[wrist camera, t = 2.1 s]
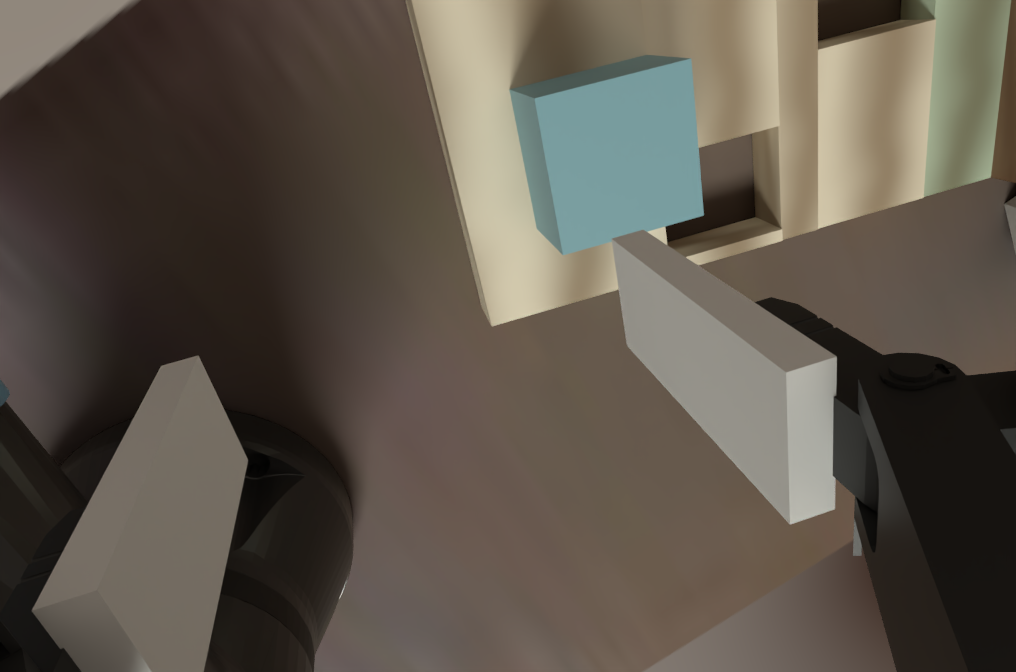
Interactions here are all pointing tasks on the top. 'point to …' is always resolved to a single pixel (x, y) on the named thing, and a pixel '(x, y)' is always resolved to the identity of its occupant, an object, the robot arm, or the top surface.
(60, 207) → the top surface
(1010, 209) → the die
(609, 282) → the trap board
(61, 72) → the top surface
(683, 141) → the block
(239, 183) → the top surface
